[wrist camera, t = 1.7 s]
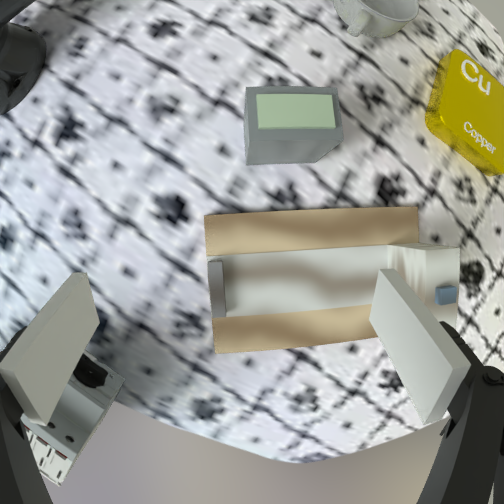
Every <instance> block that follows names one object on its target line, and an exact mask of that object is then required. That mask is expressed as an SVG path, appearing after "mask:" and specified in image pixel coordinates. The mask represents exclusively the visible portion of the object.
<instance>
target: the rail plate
mask: <svg viewBox="0 0 504 504" xmlns="http://www.w3.org/2000/svg"><path fill="white" fill-rule="evenodd" d="M204 226H205V241H206V255H207V256H206V257H207V270H208V283H209V295H210V307H211V318H212V327H213V337H214V347H215V354H216V353H235V352H250V351H264V350H276V349H287V348H297V347H307V346H316V345H324V344H332V343H340V342H347V341H355V340H361V339H368V338H375V337H378V335H377V334H376V332H375V330H374V328H373V326H372V324H371V323H370V321H369V317H370V312H371V307H372V303H373V298H374V293H375V288H376V283H377V277H378V272H379V269H391V268H394V269H395V270H396V271H397V273H398V274H399V275H400V276H401V277H402V278H403V279H404V281H405V282H406V283H407V284H408V285H409V286H410V288H411V289H412V290H413V291H414V292H415V294H416V295H417V296H418V297H419V298H420V300H421V301H422V302H423V303H424V304H425V306H426V307H427V308H428V309H429V310H430V312H431V313H432V314H433V315H434V317H435V318H436V319H437V320H438V322H440V321H445V322H446V323H448V324H449V325H450V326H452V327H453V328H454V329H455V330H456V321H457V310H458V295H459V273H460V248H457V247H449V246H441V245H432V244H424V243H419V226H418V207H373V208H339V209H313V210H291V211H271V212H253V213H236V214H221V215H207V216H204Z"/></svg>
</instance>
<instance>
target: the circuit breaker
mask: <svg viewBox="0 0 504 504" xmlns="http://www.w3.org/2000/svg"><path fill="white" fill-rule="evenodd" d="M124 381H125V378H124V377H122V376H121V375H119V374H118V373H116V372H115V371H114V370H112V369H111V368H109V367H108V366H107V365H105V364H104V363H100V362H99V361H98V359H97V358H96V357H94V356H93V355H92V354H90V353H89V352H88V351H86V350H84V352H83V354H82V356H81V358H80V359H79V361H78V363H77V365H76V367H75V369H74V371H73V373H72V375H71V377H70V379H69V381H68V383H67V385H66V387H65V389H64V391H63V393H62V395H61V397H60V399H59V401H58V403H57V405H56V407H55V409H54V411H53V413H52V415H51V418H50V420H49V422H48V424H47V426H43V425H39V424H35V423H32V422H30V420H29V419H28V417H27V416H26V414H25V413H24V412H23V414H22V416H21V418H20V419H21V420H22V422H23V423H24V426H25V429H26V433H27V436H28V439H29V442H30V445H31V449H32V451H33V454H34V457H35V460H36V463H37V466H38V468H39V471H40V473H41V474H42V475H43V476H45V477H46V478H48V479H49V480H50V481H52V482H54V483H55V484H56V485H58V486H59V487H60V486H61V484H60V483H59V482H61V483H62V482H63V480H64V479H65V478H66V476H67V474H68V473H69V472H70V470H71V468H72V467H73V465H74V463H75V462H76V460H77V458H78V457H79V455H80V454H81V452H82V451H83V449H84V448H85V446H86V444H87V443H88V441H89V440H90V439H91V437H92V436H93V434H94V433H95V431H96V429H97V428H98V426H99V425H100V423H101V421H102V420H103V418H104V416H105V415H106V413H107V411H108V409H109V408H110V406H111V404H112V403H113V401H114V399H115V398H116V396H117V394H118V393H119V391H120V387H121V386H122V384H123V382H124ZM42 470H43V471H42ZM46 473H47V474H46Z"/></svg>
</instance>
